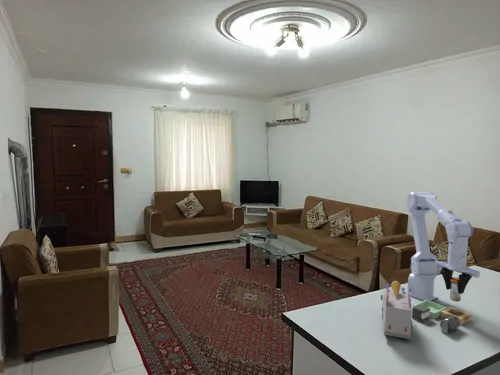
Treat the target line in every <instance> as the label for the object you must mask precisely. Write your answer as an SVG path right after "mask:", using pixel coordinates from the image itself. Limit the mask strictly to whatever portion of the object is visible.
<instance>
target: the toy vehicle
mask: <svg viewBox="0 0 500 375" xmlns="http://www.w3.org/2000/svg"><path fill="white" fill-rule="evenodd" d="M390 287H391V289H389V288H390ZM400 290H401V291H400ZM411 297H412V296H410V294H409V292H408V295H407V291H406V288H405V287H401V283H400V282H399V281H397V280H394V281H392V282H391V284H390V286H389V285H385V287H384V289H383V294H380V300H381V301H382V306H381V311H382V312H381V313H382V314H381V315H382V316H381V317H382V319H383V335H384V336H389V337H390V336H391V337H396V338H402V339H408V340H411V339H412V334H411V329H412V328H413V327H414V324H413V321H412V299H411Z"/></svg>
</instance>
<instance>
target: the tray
mask: <svg viewBox="0 0 500 375" xmlns="http://www.w3.org/2000/svg"><path fill="white" fill-rule="evenodd" d="M419 304H420V305H422V306H425V307H428V308H430V317H429V319H430V318H431V319H433V320H436V319H438V318H441V311H443V310H445V309H447V308H448V307H447V306H446V305H442V304H439V303H436V302H434V301H432V300H431V301H429V300H425V301H424V300H422V301H420V302H418V303H415V304H413V307H414V306H417V305H419Z"/></svg>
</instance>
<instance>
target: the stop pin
mask: <svg viewBox="0 0 500 375" xmlns="http://www.w3.org/2000/svg"><path fill="white" fill-rule="evenodd" d="M449 280H450V281H451V284H450V289H449V290H450V294H449V297H450V300H451V301H453V302H458V303H459V302H461V300H462V299H461V298H462V297H461V296H462V294H460V293H459V285H460V284H459V277H455V276H452V277H450V278H449Z"/></svg>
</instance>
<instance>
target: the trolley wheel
mask: <svg viewBox="0 0 500 375" xmlns="http://www.w3.org/2000/svg"><path fill="white" fill-rule="evenodd" d="M439 326H440V332H441V333H443V334H446V335H449V333H451V332H453V331H455V330H457V329H459V328H460V326H461V325H460V322H459V317H457V316H454V315H451V317H448V318H446V319H444V318H443V319H442V320H441V321H440V322H439Z"/></svg>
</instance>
